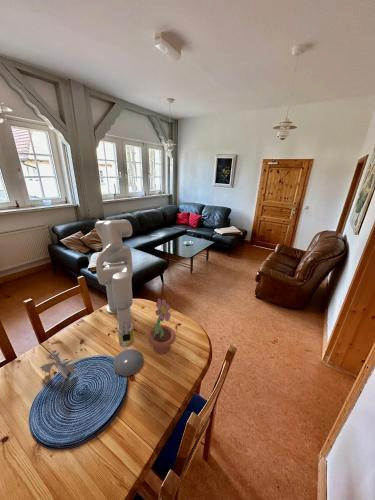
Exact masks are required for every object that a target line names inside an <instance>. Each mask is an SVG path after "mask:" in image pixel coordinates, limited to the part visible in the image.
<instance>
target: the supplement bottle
mask: <svg viewBox="0 0 375 500" xmlns="http://www.w3.org/2000/svg"><path fill="white" fill-rule="evenodd" d="M123 323H124V322H123ZM127 326H128V325H127ZM123 327H124V326H123ZM127 330H128V328H127ZM124 332H125V331H124ZM129 332H130V338H131V340H128V341H123V337H122V334H123V330H119V326H118V325H117V336H118V344H119V346H120V347H121V348H123V349H125V348H130V347H131V346H133V345H134V343H135V332H134V324H133V322H132V321H131V327H130V328H129Z"/></svg>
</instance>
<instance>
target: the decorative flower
mask: <svg viewBox="0 0 375 500" xmlns="http://www.w3.org/2000/svg"><path fill="white" fill-rule="evenodd" d="M155 306H156V308H157V309H156V310H155V314H156V316H158V317H157V319H156V322H155V321H154V322H153V323H154V327H153V328H151V329H150V330H149V332H148V335H147V339H148V342H149V344H150V345H151V346H152V347H153V350H154V352H155V353H156V354H158V355H159V354H160V355H165V354H166V353H167V352H169V350H170V349H171V345H173V344H174V342H175V340H176V332H175V330H174V329H173V328H172V327H170V326H168V325H163V324H161V322H164V321H166V322H169V321H170V319H171V315H172V314H171V312H170V311H171V306H170V305H169V303H167V301H166V300H165V298H163V299H162V300H161V298H158V299H157V302H156V303H155Z"/></svg>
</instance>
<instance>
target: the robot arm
mask: <svg viewBox="0 0 375 500" xmlns="http://www.w3.org/2000/svg"><path fill="white" fill-rule="evenodd" d="M94 229H95V232H96V234H97V235H98V238H100V240H101V245H102V250H101V251H100V253H99V254H98V256H97V258H96V261H95V269H96V277H97V278H96V279H97V281H98V283H99V284H100V285H102V286H105V287H106V288H105V289H106V296H107V303H108V304H106V307H105V308H106V312H107V313H109V314H111V315H112V314H113V315H115V314H116V316H117V324H118V325H117V327H118V326H119V330H123V334H122V337H123V341H128V340H131V338H130V332H129V328H130V327H131V322H132V321H131V319H132V318H131V307H132V306H133V303H134V300H133V289H132V287H133V285H132V277H133V274H134V268H133V257H132V251H131V250H132V249H131V248H130V246H128V245H124V243H123V238H128V237H131V236H132V234H133V226H132V224H131V221H129V220H128V219H109V220H107V219H106V220H99V221H96V222H95V223H94ZM104 263H107V265H105V266H104ZM123 322H124V323H123ZM127 325H128V326H127ZM123 326H124V327H123ZM127 328H128V330H127ZM124 331H125V332H124Z"/></svg>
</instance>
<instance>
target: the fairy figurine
mask: <svg viewBox="0 0 375 500" xmlns="http://www.w3.org/2000/svg"><path fill="white" fill-rule="evenodd" d="M59 355H60V351H57V349H54V350H52V351H51V353H48V354H47V356H46V360H50V359H51V360H53V361H51V362H48V363H45V364H43V365H41V366H40V367H39V368H40V369H41V371H42V372H44V373H45V374H46V373H48V374H51V369H52V367H53V366H55V368H56V369H57V371H58V373H59V375H62V377H63V381H62V385H61V387H63V386H64V383H65V381H66V379H67V380H69V377H68V374H70V375H69V376H71V375H73V374H75V372H76V371H77V370H78V368H75V363H72V362H74V360H73V359H69V358H61V359H60V357H59Z"/></svg>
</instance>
